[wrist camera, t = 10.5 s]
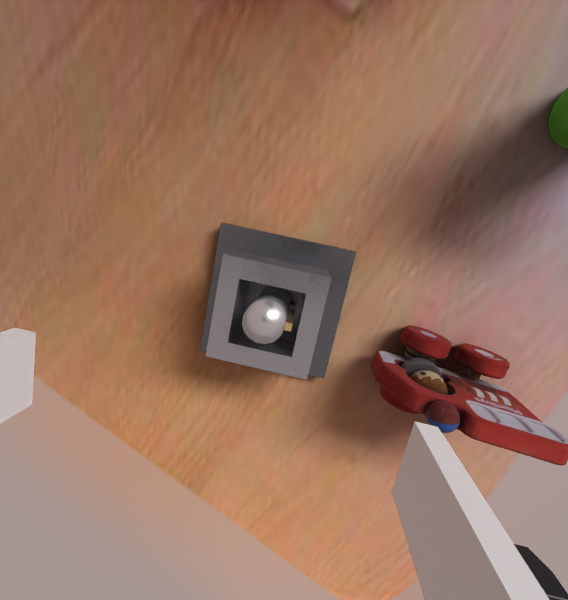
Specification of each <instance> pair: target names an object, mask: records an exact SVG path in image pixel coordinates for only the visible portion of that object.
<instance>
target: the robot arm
mask: <svg viewBox="0 0 568 600" xmlns="http://www.w3.org/2000/svg"><path fill="white" fill-rule="evenodd" d="M35 339H36V333H35V332H31V331H26V330H22V329H18V328H12V329H9V330H6V331H3V332H0V424H1V423H2V422H4V421H6V420H7V419H9V418H10V417H12V416H14V415H15V414H17V413H18V412H20V411H22V410H24V409H25V408H27V407H28V406H30V405H32V399H33V379H34V359H35ZM392 494H393V497H394V501H395V504H396V507H397V510H398V514H399V517H400V520H401V523H402V527H403V530H404V533H405V537H406V540H407V543H408V546H409V550H410V553H411V556H412V559H413V563H414V566H415V569H416V573H417V576H418V579H419V582H420V586H421V589H422V592H423V595H424V599H425V600H568V594H567V592H566V591H565V589H564V588H563V587H562V585H561V584H560V583H559V581H558V579H557V578H556V577H555V575H554V574H553V572H552V571H551V570H550V569H549V568H548V567H547V566H546V565H545V564H544V563H543V562H542V561H541V560H539V558H538V557H537V556H536V555H535V554H534V553H533V552H532V551H531V550H529V548H527V547H524V546H520V545H515V544H513V542H512V541H511V539H510V538H509V536H508V535H507V533H506V531H505V530H504V528H503V527H502V525H501V524H500V523H499V521H498V519H497V518H496V516H495V514H494V513H493V511H492V510H491V508H490V507H489V505H488V504H487V502H486V501H485V499H484V497H483V496H482V494H481V493H480V491H479V490H478V488H477V487H476V485H475V483H474V482H473V480H472V479H471V477H470V476H469V474H468V473H467V471H466V470H465V468H464V466H463V465H462V463H461V462H460V460H459V459H458V457H457V456H456V454H455V452H454V451H453V449H452V448H451V446H450V445H449V443H448V442H447V440H446V439H445V437H444V435H443V434H442V432H441V431H440V429H439V428H438V427H436V426H432V425H428V424H424V423H419V422H414V425H413V428H412V431H411V434H410V437H409V440H408V444H407V447H406V450H405V453H404V456H403V459H402V462H401V465H400V468H399V471H398V474H397V477H396V480H395V483H394V486H393V489H392Z"/></svg>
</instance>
